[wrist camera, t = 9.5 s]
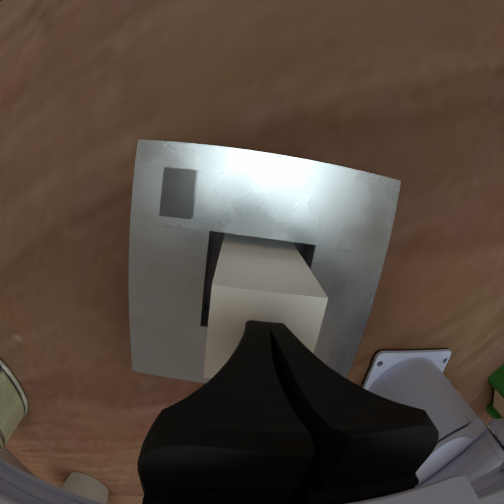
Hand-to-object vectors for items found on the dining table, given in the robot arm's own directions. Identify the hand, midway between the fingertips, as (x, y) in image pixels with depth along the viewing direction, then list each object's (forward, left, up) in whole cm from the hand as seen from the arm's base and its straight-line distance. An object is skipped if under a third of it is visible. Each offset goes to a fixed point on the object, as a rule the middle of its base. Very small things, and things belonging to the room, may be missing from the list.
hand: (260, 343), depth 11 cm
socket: (0, 0, -8) cm, 8 cm away
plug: (0, 0, -8) cm, 8 cm away
